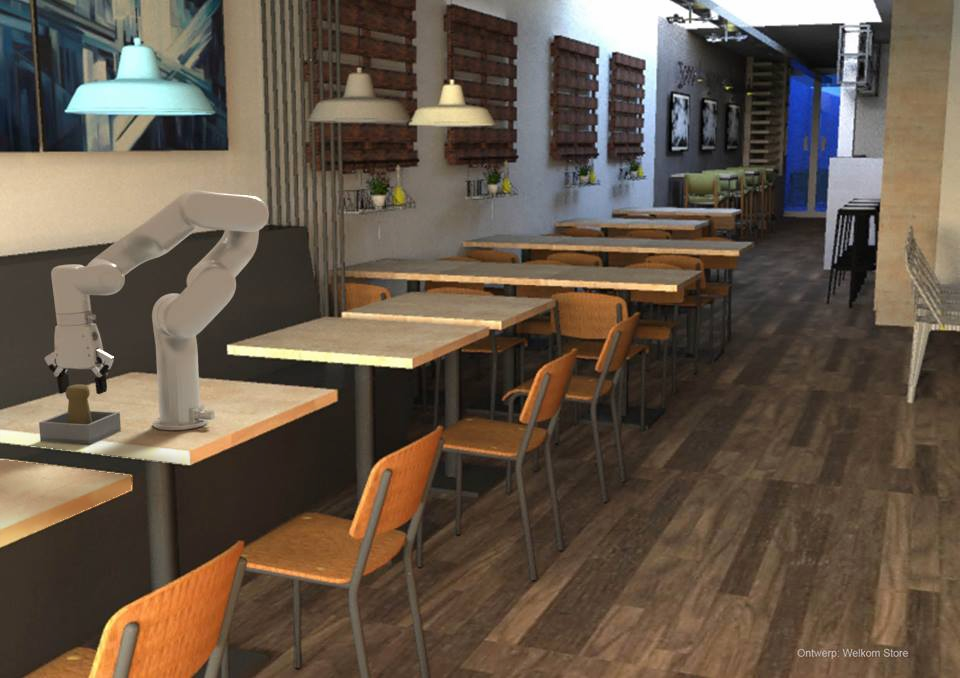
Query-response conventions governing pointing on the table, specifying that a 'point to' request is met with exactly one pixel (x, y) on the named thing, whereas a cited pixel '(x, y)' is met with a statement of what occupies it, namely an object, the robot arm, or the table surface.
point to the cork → (78, 404)
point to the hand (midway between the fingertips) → (83, 392)
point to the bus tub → (80, 428)
